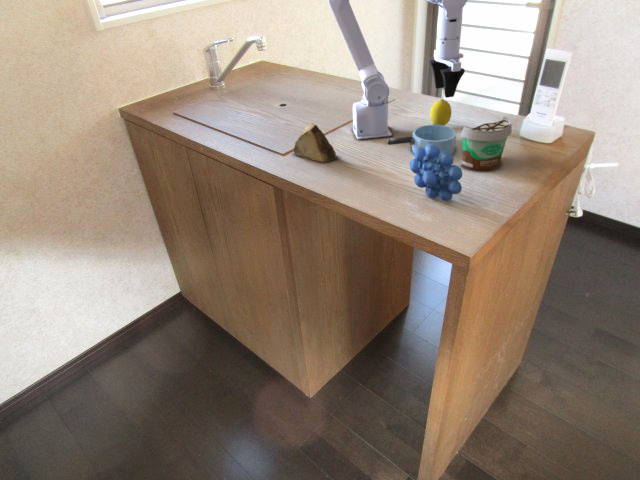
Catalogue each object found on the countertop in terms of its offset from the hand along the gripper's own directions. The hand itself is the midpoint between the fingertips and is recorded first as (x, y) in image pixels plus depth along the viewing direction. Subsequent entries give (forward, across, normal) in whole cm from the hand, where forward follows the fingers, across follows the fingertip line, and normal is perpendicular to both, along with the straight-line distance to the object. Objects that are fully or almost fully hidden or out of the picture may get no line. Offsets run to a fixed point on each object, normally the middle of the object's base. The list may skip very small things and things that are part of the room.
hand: (444, 92), depth 118 cm
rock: (+9, -10, +37) cm, 39 cm away
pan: (+10, -13, +7) cm, 18 cm away
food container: (+10, -25, -2) cm, 27 cm away
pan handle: (+7, -13, +15) cm, 21 cm away
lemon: (+10, 0, +1) cm, 10 cm away
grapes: (+10, -36, +15) cm, 41 cm away
